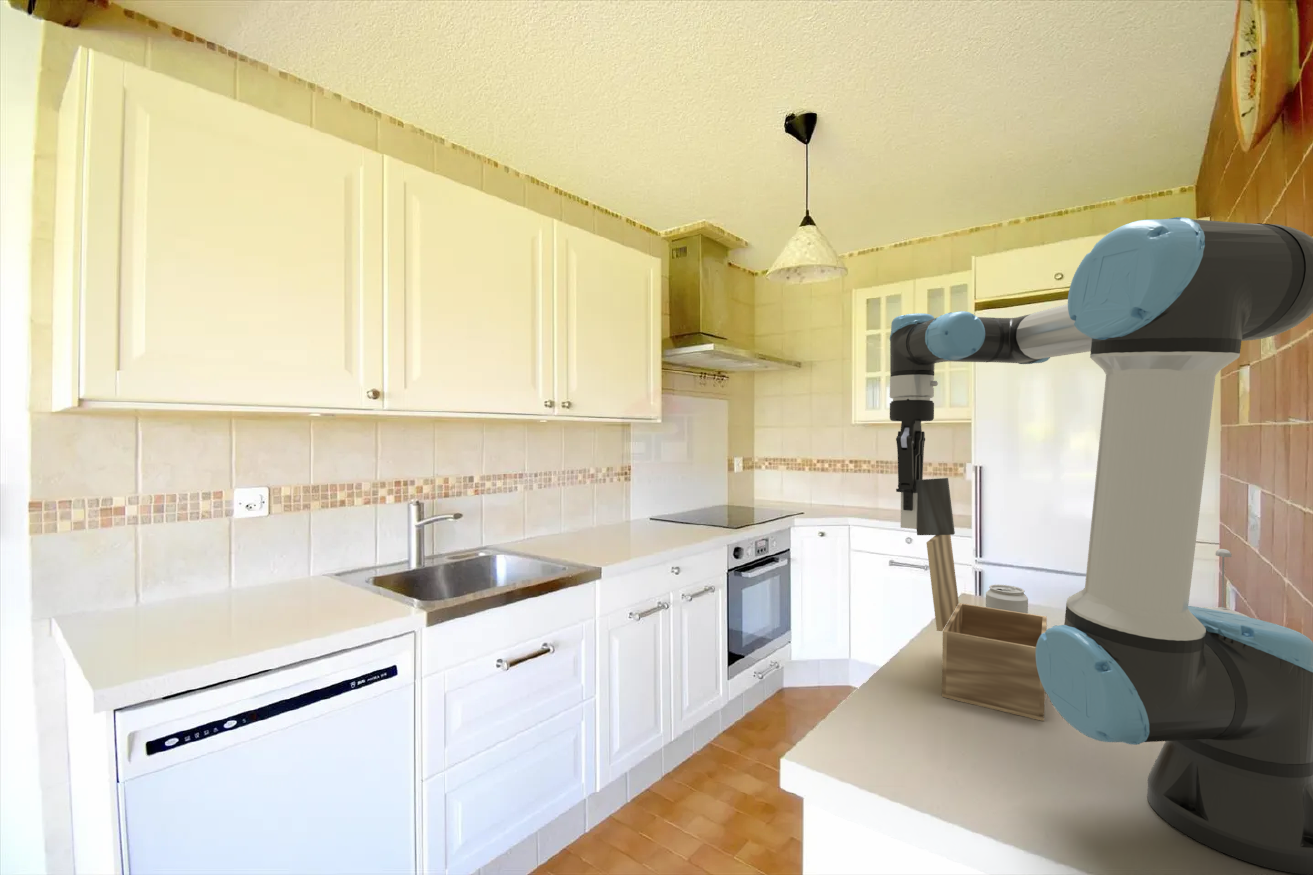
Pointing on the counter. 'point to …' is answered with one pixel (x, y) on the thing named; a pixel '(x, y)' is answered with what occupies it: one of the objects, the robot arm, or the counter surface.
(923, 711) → the counter surface
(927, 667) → the counter surface
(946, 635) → the wooden box
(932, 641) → the counter surface
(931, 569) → the wooden box lid
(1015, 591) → the can
